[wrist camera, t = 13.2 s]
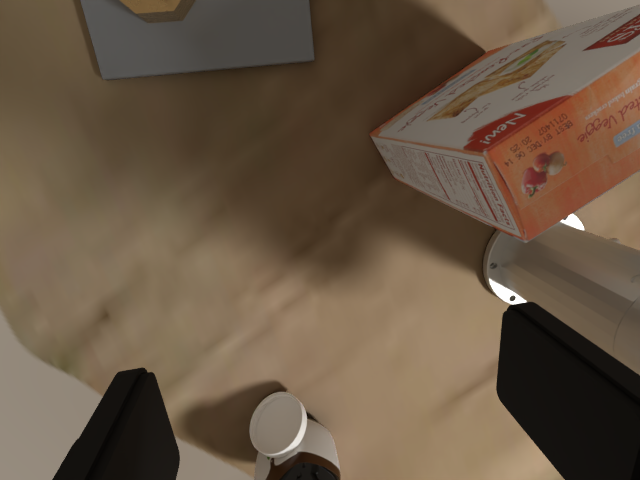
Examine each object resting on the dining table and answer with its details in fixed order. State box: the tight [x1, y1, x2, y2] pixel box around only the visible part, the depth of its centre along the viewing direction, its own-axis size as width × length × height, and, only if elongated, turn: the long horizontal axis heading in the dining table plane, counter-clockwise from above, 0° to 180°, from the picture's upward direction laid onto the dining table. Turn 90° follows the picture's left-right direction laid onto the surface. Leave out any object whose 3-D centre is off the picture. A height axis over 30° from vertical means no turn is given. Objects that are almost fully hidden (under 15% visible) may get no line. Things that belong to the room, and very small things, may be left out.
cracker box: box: [370, 5, 640, 243], centre depth 26 cm, size 14×6×21 cm, turn 123°
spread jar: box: [249, 392, 340, 480], centre depth 41 cm, size 12×11×12 cm
